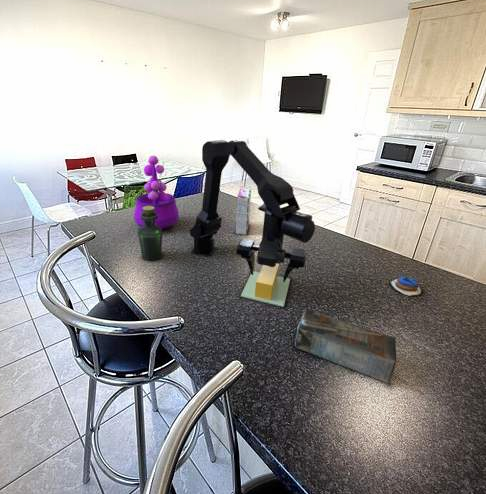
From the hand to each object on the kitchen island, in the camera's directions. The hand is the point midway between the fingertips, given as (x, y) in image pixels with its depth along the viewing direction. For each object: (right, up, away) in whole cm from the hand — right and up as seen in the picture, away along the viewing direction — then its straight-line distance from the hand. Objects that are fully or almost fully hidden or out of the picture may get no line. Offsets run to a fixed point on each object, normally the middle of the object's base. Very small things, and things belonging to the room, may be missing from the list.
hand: (267, 277), depth 85 cm
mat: (0, -3, +1) cm, 4 cm away
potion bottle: (-37, +4, +17) cm, 41 cm away
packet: (0, -3, +1) cm, 3 cm away
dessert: (+42, -4, +3) cm, 42 cm away
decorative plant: (-40, +15, +42) cm, 60 cm away
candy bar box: (-3, +14, +40) cm, 42 cm away
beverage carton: (+12, -13, -20) cm, 27 cm away
